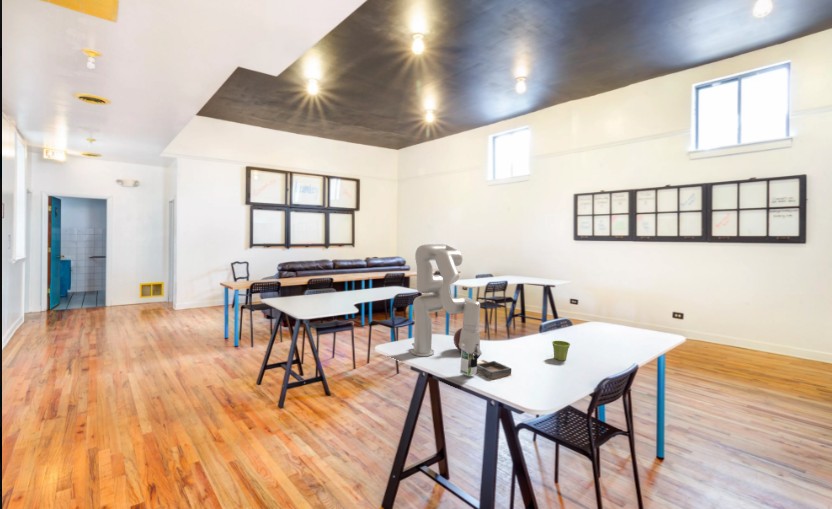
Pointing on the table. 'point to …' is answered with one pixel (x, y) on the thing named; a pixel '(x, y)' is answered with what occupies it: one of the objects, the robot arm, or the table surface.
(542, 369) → the table surface
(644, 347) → the table surface
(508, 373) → the brown compartment tray
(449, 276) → the robot arm
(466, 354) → the syrup box
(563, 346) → the plant pot
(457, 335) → the round-bottom flask
